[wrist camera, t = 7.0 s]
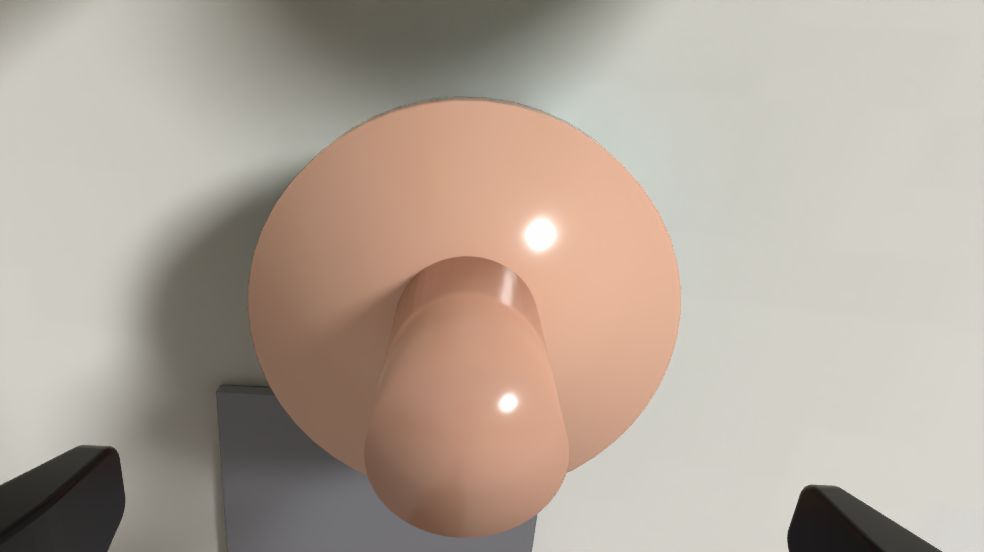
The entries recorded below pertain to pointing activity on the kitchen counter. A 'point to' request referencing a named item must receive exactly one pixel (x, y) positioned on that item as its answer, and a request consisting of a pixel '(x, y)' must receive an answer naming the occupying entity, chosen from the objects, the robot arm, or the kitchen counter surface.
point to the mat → (313, 492)
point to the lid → (464, 307)
